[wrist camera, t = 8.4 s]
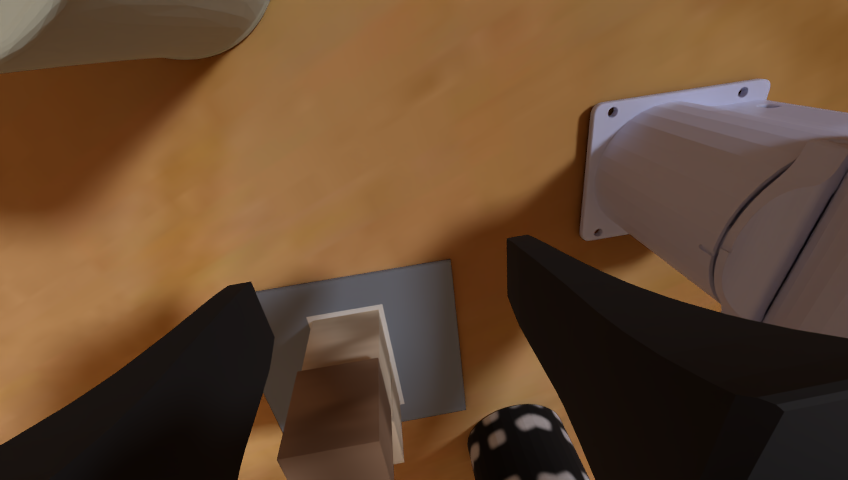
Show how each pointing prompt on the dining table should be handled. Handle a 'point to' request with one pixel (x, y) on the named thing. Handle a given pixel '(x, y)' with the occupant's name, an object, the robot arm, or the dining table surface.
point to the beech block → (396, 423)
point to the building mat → (402, 324)
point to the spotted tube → (523, 446)
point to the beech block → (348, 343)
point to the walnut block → (338, 425)
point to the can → (119, 30)
